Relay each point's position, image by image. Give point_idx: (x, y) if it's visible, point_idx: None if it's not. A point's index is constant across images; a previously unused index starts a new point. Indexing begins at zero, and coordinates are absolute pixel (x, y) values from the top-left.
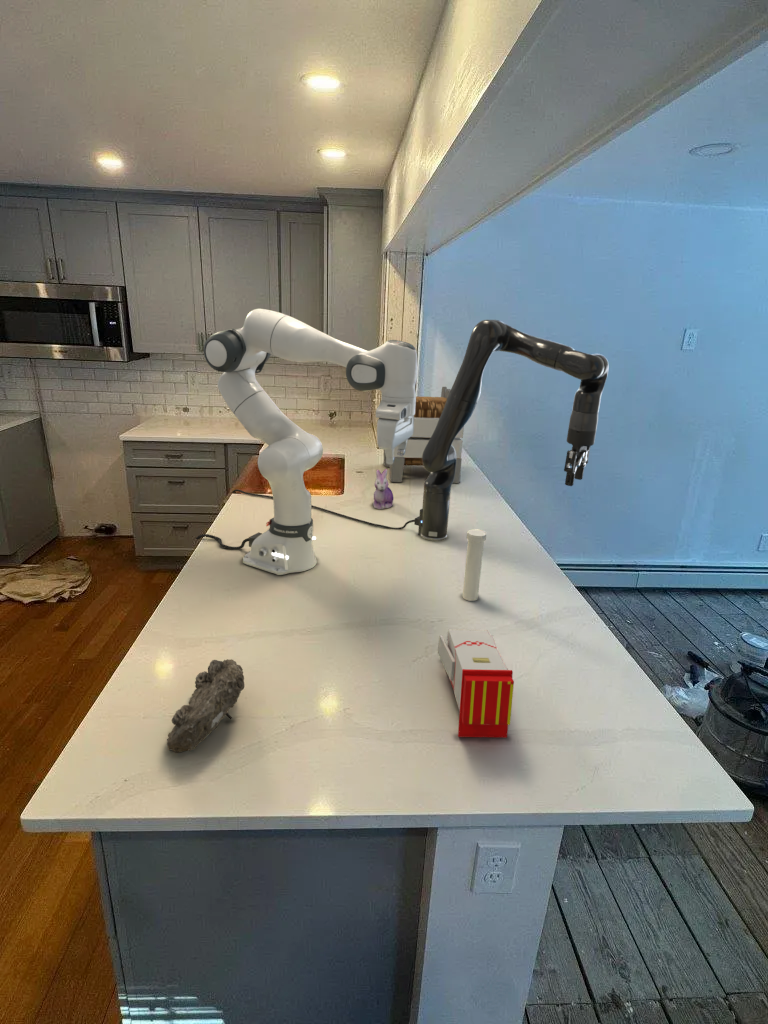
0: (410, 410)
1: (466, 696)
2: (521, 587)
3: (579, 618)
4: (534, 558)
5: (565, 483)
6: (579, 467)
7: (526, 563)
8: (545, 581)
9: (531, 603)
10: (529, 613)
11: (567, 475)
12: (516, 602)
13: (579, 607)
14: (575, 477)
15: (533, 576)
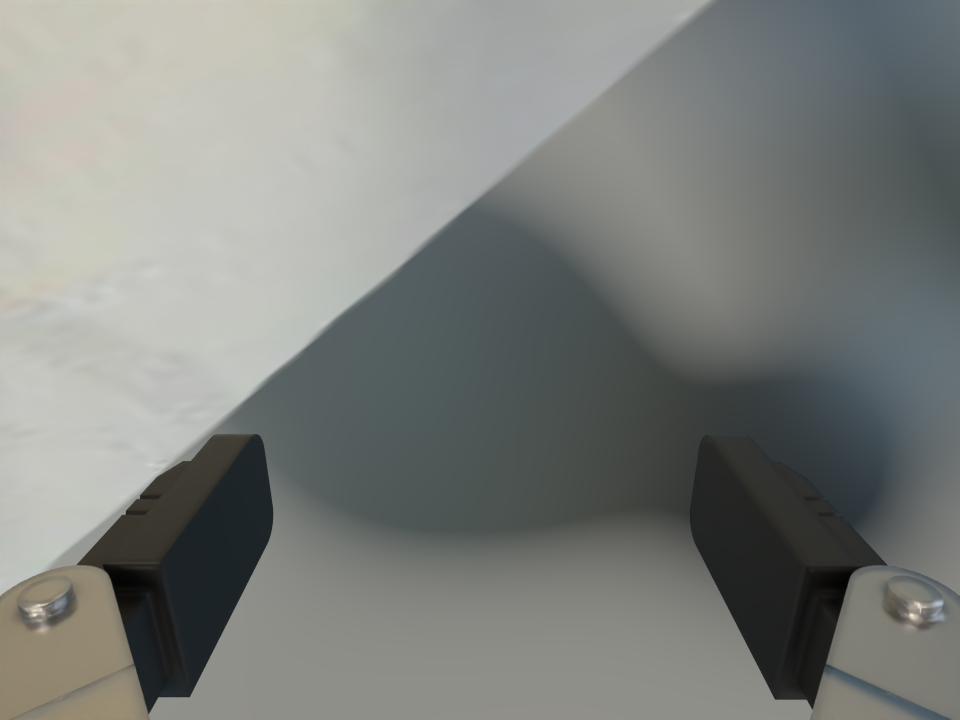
0: None
1: None
2: (198, 139)
3: (146, 422)
4: (576, 50)
5: (213, 444)
6: (791, 624)
7: (480, 39)
8: (344, 208)
9: (98, 238)
10: (17, 264)
11: (89, 565)
12: (50, 182)
13: (226, 399)
14: (707, 452)
15: (353, 139)
